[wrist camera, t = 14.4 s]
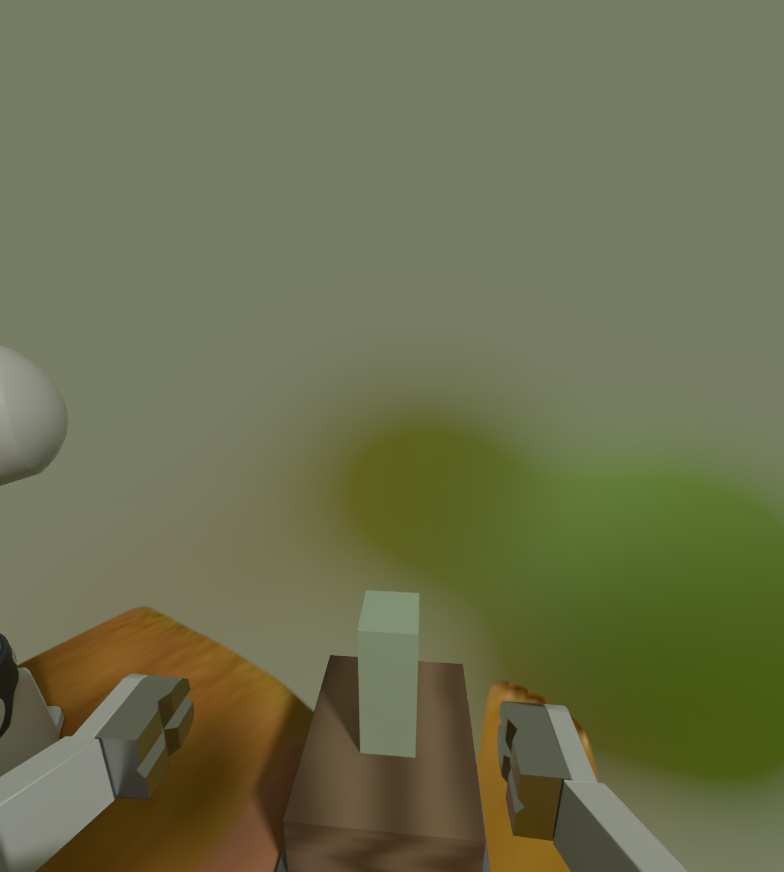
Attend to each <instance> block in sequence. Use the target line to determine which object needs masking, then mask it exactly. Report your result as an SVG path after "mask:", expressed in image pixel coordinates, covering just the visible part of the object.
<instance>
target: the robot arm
mask: <svg viewBox="0 0 784 872" xmlns="http://www.w3.org/2000/svg"><path fill="white" fill-rule="evenodd" d="M67 427H68V415H67V409H66V405H65V402H64V399H63V397H62V395H61V393H60V391H59V389H58V388H57V386H56V385H55V383H54V382H53V380H52V379H51V378H50V377H49V376H48V375H47V374H46V373H45V372H44V371H43V370H42V369H41V368H40V367H39V366H38V365H36V364H35V363H34V362H32V361H31V360H29V359H28V358H27V357H25V356H23V355H22V354H20V353H18V352H17V351H14V350H12V349H9V348H7V347H5V346H2V345H0V486H1V485H4V484H7V483H11V482H14V481H17V480H20V479H24V478H27V477H30V476H33V475H37V474H39V473H41V472H42V471H43V470H44V469H45V468H46V467H47V466H49V464H50V463H51V462H52V461H53V460H54V459H55V457H56V455H57V454H58V452H59V451H60V449H61V447H62V445H63V443H64V440H65V437H66V434H67ZM16 662H17V661H16V656H15V653H14V651H13V649H12V648H11V646H10V645H9V643H8V641H7V639H6V638H5V636H3V635H2V634H0V872H36V871H37V870H38V869H39V868H40V867H41V866H42V865H43V864H44V863H46V862H47V861H48V860H49V859H50V858H51V857H52V856H53V855H54V854H55V853H57V852H58V851H59V850H60V849H61V848H62V847H63V846H64V845H65V844H67V843H68V842H69V841H70V840H71V839H72V838H73V837H74V836H75V835H76V834H78V833H79V832H80V831H81V830H82V829H83V828H84V827H85V826H86V825H87V824H89V823H90V822H91V821H92V820H93V819H94V818H95V817H96V816H97V815H98V814H100V813H101V812H102V811H103V810H104V809H105V808H106V807H107V806H108V805H109V804H111V803H112V802H113V801H114V797H119V798H135V799H150V798H151V797H152V795H153V793H154V792H155V790H156V788H157V787H158V785H159V783H160V781H161V780H162V778H163V776H164V775H165V773H166V771H167V770H168V768H169V756H170V755H171V754H173V753H174V752H175V751H176V750H178V749H179V748H180V747H181V746H182V744H183V742H184V741H185V739H186V737H187V735H188V733H189V730H190V727H191V724H192V722H193V715H194V707H193V702H192V701H191V700H190V699H189V698H188V697H187V696H186V695H187V694H188V692H189V691H190V685H189V680H188V679H183V678H174V677H165V676H155V675H145V674H133V673H131V674H129V675H128V676H126V677H124V678H123V679H122V680H121V681H120V683H119V684H118V685H117V686H116V687H115V688H114V689H113V691H112V692H111V693H110V694H109V695H108V696H107V697H106V698H105V700H104V701H103V702H102V703H101V704H100V705H99V706H98V707H97V709H96V710H95V711H94V712H93V713H92V714H91V715H90V717H89V718H88V719H87V720H86V721H85V722H84V723H83V724H82V726H81V727H80V728H79V729H78V730H77V731H76V732H75V733H74V735H73V736H65V737H64V738H62V739H61V740H60V738H59V734H60V731H61V728H62V725H63V721H64V713H63V711H62V710H61V708H60V707H59V706H49V707H47V705H46V703H45V701H44V698H43V696H42V694H41V692H40V690H39V688H38V686H37V684H36V682H35V680H34V678H33V676H32V674H31V672H30V671H29V670H28V669H27V668H25V667H23V668H17V665H16ZM500 717H501V722H502V724H501V725H499V726H498V736H497V740H498V756H499V763H500V769H501V775H502V776H503V778H504V779H505V780H506V782H507V792H506V801H507V807H508V812H509V817H510V822H511V827H512V832H513V836H520V837H527V838H535V839H542V840H550V841H554V842H553V844H554V846H555V847H556V849H557V850H558V852H559V853H560V855H561V856H562V858H563V860H564V861H565V863H566V864H567V866H568V867H569V869H570V870H571V872H687V870H686V869H684V867H683V866H682V865H681V864H680V863H679V862H678V861H677V860H676V859H675V858H674V857H673V856H672V855H671V854H670V852H669V851H668V850H667V849H666V848H665V847H664V846H663V845H662V844H661V843H660V842H659V841H658V840H657V839H656V838H655V837H654V836H653V834H651V832H650V831H649V830H648V829H647V828H646V827H645V826H644V825H643V824H642V823H641V822H640V821H639V820H638V819H637V818H636V816H635V815H633V813H632V812H631V811H630V810H629V809H628V808H627V807H626V806H625V805H624V804H623V803H622V802H621V801H620V800H619V798H618V797H616V795H615V794H614V793H613V792H612V791H611V790H610V789H609V788H608V787H607V786H606V785H605V784H604V783H597V781H596V778H595V776H594V773H593V771H592V768H591V766H590V763H589V761H588V758H587V756H586V753H585V751H584V748H583V746H582V743H581V741H580V739H579V736H578V734H577V731H576V729H575V726H574V724H573V721H572V719H571V716H570V714H569V711H568V710H567V708H566V707H565V706H561V705H548V704H543V705H542V704H541V703H524V702H506V701H502V703H501V705H500Z"/></svg>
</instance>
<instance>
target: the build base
mask: <svg viewBox="0 0 784 872" xmlns="http://www.w3.org/2000/svg"><path fill="white" fill-rule="evenodd" d="M283 828H284V838H285V843H284V846H283V850H282V854H281V858H280V861H279V865H278V869H277V872H490V866H489V859H488V851H487V843H486V836H485V828H484V820H483V813H482V805H481V797H480V790H479V782H478V774H477V767H476V759H475V751H474V744H473V736H472V728H471V721H470V713H469V705H468V701H467V694H466V687H465V679H464V670H463V665H462V664H452V663H437V662H423V661H422V662H421V661H418V682H417V717H416V753H415V758H413V757H401V756H390V755H378V754H367V753H360V723H359V680H358V657H348V656H334V655H330V659H329V662H328V665H327V669H326V672H325V676H324V679H323V683H322V686H321V690H320V693H319V697H318V700H317V704H316V707H315V711H314V714H313V718H312V721H311V725H310V728H309V732H308V735H307V739H306V742H305V746H304V749H303V752H302V756H301V759H300V763H299V766H298V770H297V773H296V777H295V780H294V784H293V787H292V791H291V794H290V798H289V801H288V805H287V808H286V812H285V815H284V819H283Z"/></svg>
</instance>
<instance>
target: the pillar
mask: <svg viewBox="0 0 784 872" xmlns="http://www.w3.org/2000/svg"><path fill="white" fill-rule="evenodd" d="M357 635H358V636H357V637H358V680H359V723H360V753H367V754H378V755H390V756H401V757H413V758H415V753H416V717H417V682H418V646H419V593H405V592H387V591H368V590H367V591H366V593H365V598H364V603H363V607H362V612H361V616H360V621H359V626H358V630H357Z"/></svg>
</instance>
